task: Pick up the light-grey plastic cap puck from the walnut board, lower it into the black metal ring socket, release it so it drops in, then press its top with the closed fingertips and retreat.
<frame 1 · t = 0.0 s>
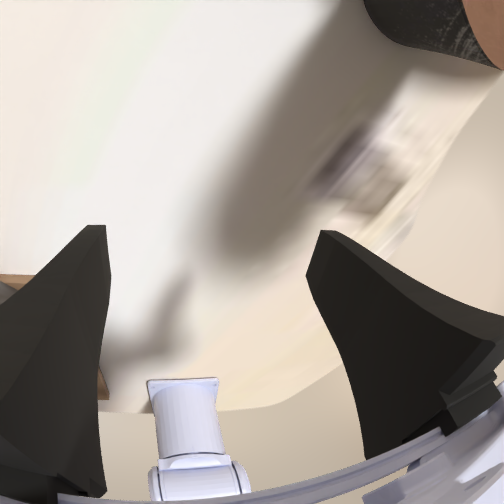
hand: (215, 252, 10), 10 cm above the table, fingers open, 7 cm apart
travel mug: (401, 2, 14), on the table
socket board: (31, 344, 24), on the table
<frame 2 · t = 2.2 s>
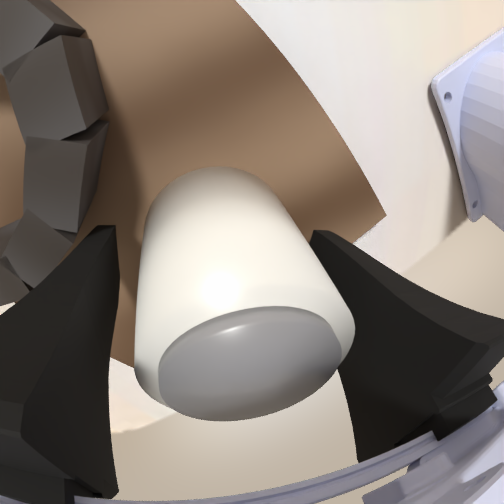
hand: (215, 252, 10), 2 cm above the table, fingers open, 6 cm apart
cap: (215, 233, 11), point 1 cm above the table, touching socket board
socket board: (94, 172, 9), on the table
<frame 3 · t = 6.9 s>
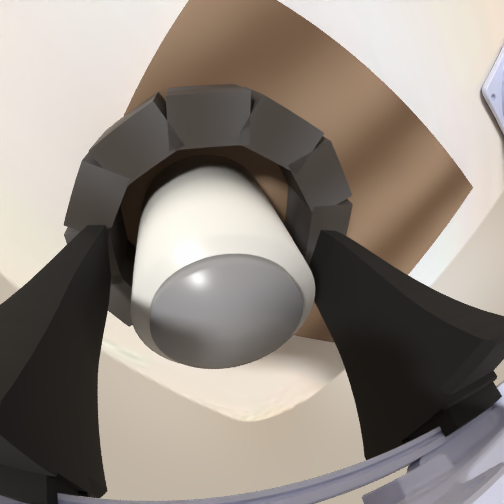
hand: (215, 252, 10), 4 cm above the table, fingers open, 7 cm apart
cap: (203, 213, 12), point 1 cm above the table, touching socket board
socket board: (303, 209, 15), on the table
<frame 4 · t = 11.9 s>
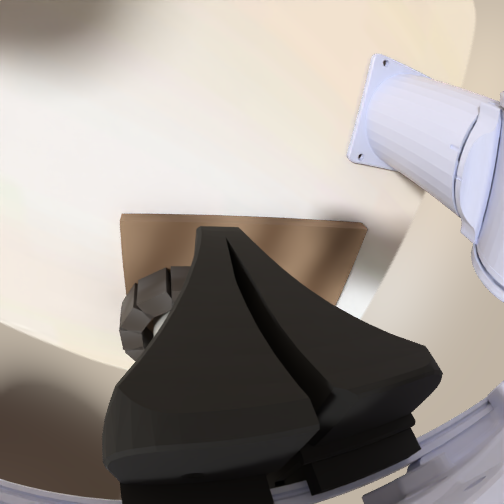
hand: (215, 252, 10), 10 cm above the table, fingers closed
socket board: (239, 292, 25), on the table
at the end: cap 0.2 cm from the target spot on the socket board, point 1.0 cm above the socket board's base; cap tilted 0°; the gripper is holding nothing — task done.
